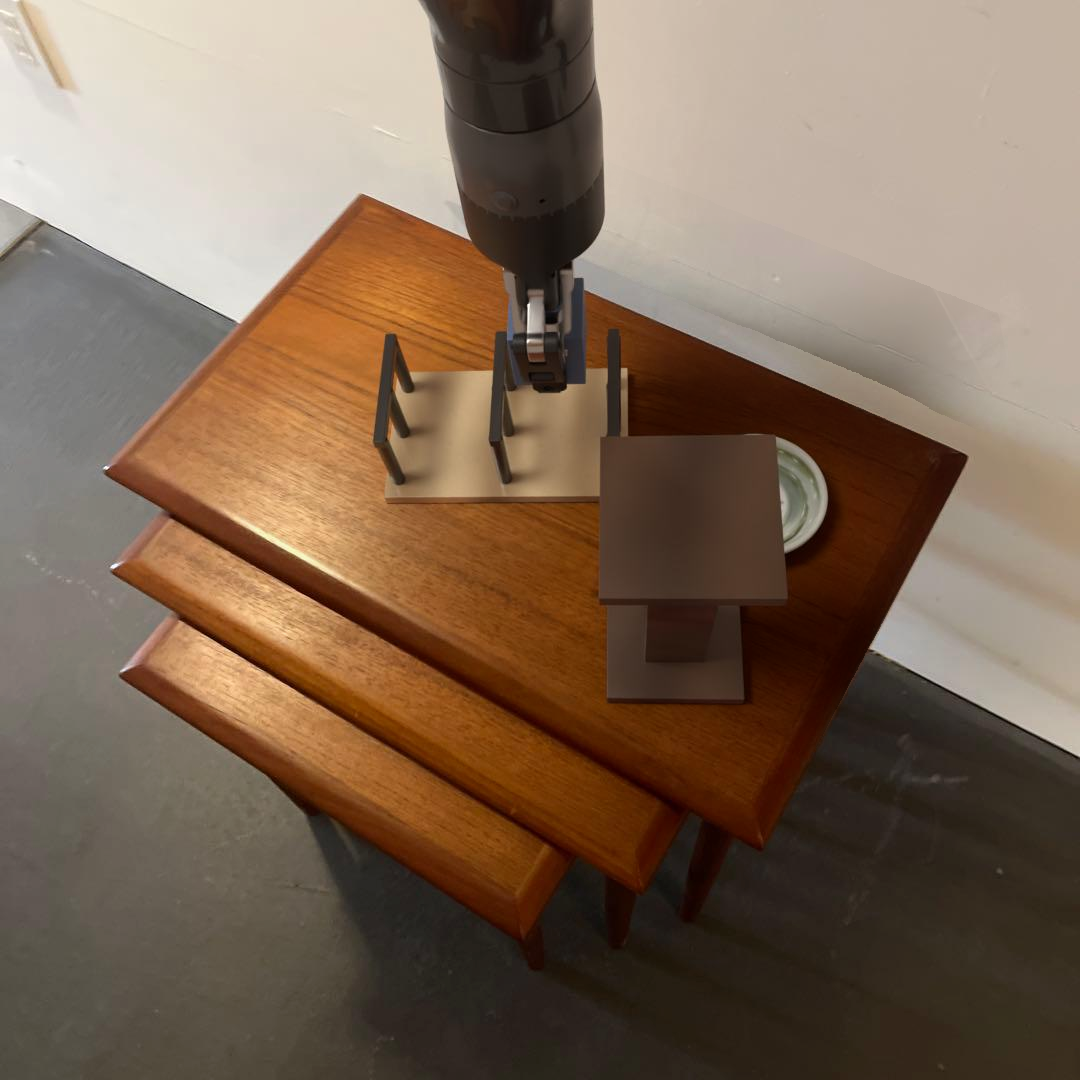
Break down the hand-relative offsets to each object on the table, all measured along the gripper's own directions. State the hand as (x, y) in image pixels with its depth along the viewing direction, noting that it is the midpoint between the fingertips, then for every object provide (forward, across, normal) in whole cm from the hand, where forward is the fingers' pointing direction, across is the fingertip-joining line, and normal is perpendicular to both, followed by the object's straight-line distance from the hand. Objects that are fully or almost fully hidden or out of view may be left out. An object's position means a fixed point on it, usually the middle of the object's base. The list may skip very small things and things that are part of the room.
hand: (551, 352), depth 64 cm
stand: (+11, -16, -8) cm, 21 cm away
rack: (+11, 0, +4) cm, 12 cm away
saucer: (+11, -6, -14) cm, 19 cm away
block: (0, 0, 0) cm, 0 cm away
